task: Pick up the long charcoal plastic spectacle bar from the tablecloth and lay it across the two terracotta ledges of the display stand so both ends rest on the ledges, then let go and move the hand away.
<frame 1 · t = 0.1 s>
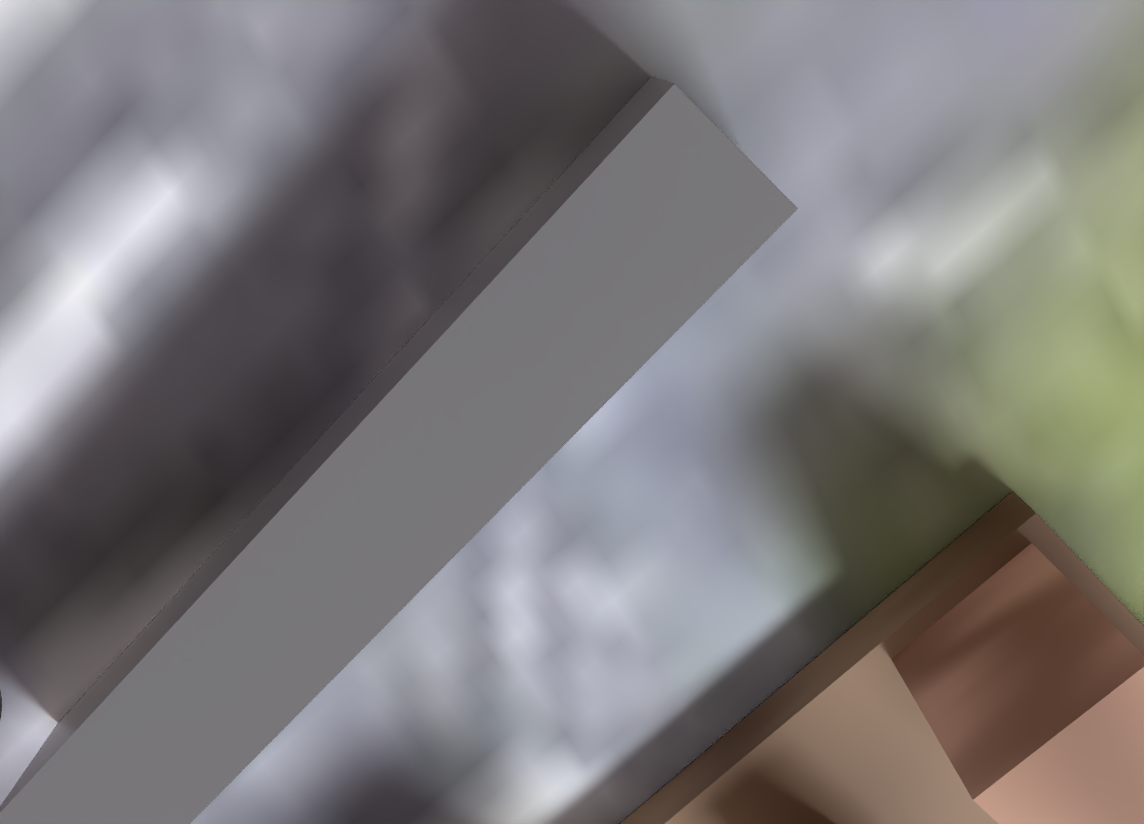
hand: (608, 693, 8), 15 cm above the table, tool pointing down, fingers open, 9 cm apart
spectacle bar: (383, 467, 24), on the table
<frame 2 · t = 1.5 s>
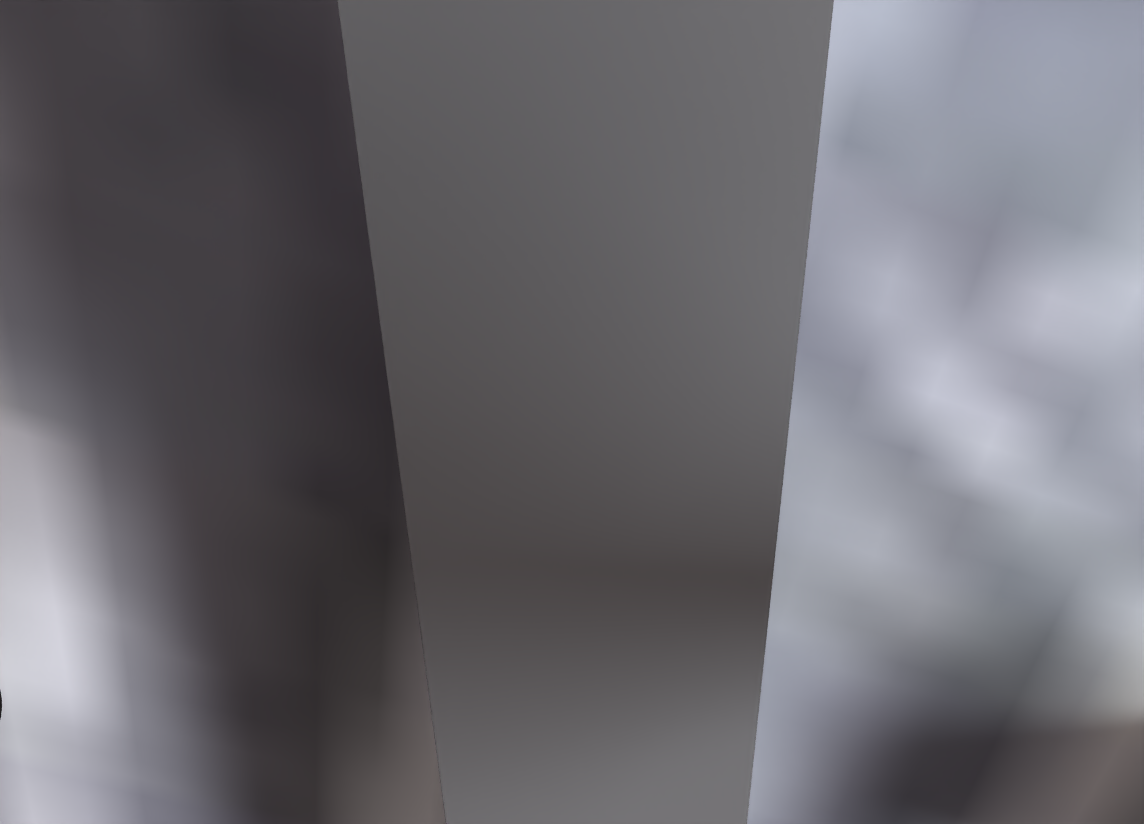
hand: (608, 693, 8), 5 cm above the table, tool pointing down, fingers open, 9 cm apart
spectacle bar: (582, 337, 12), on the table
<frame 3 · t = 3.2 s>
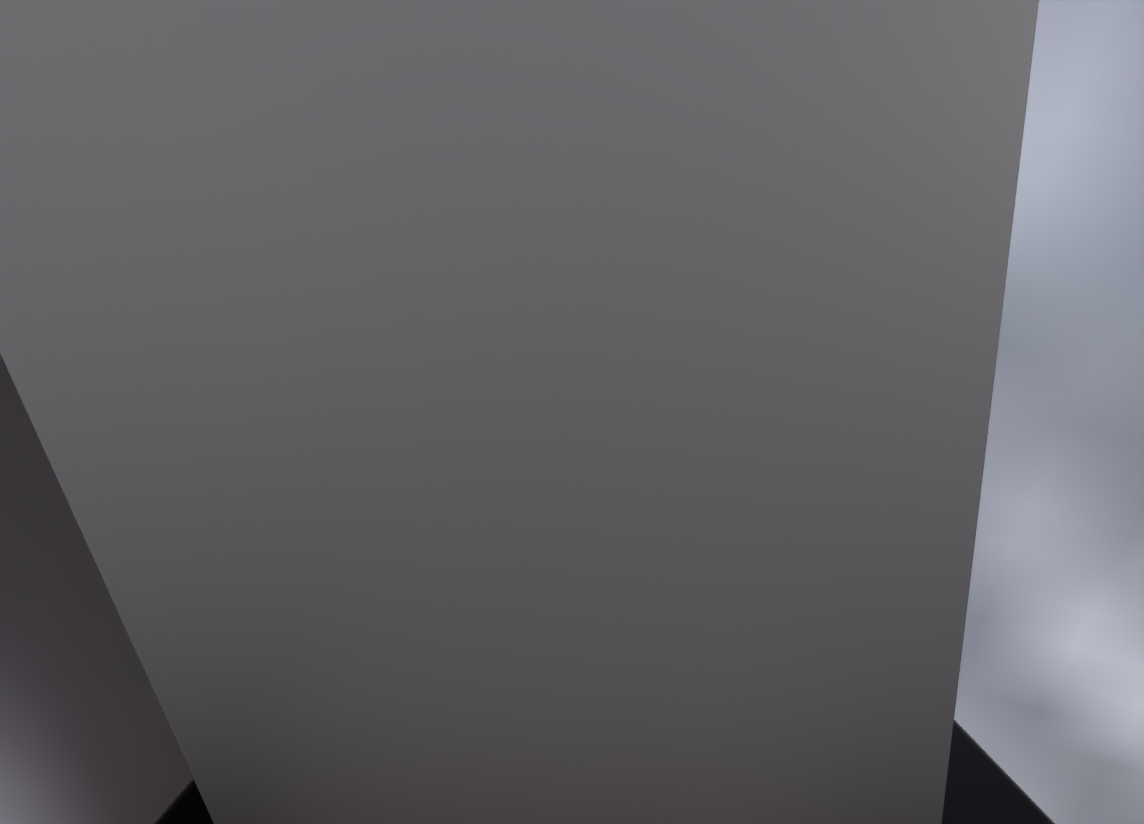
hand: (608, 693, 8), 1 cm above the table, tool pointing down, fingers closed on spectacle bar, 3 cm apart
spectacle bar: (598, 580, 9), on the table, touching gripper
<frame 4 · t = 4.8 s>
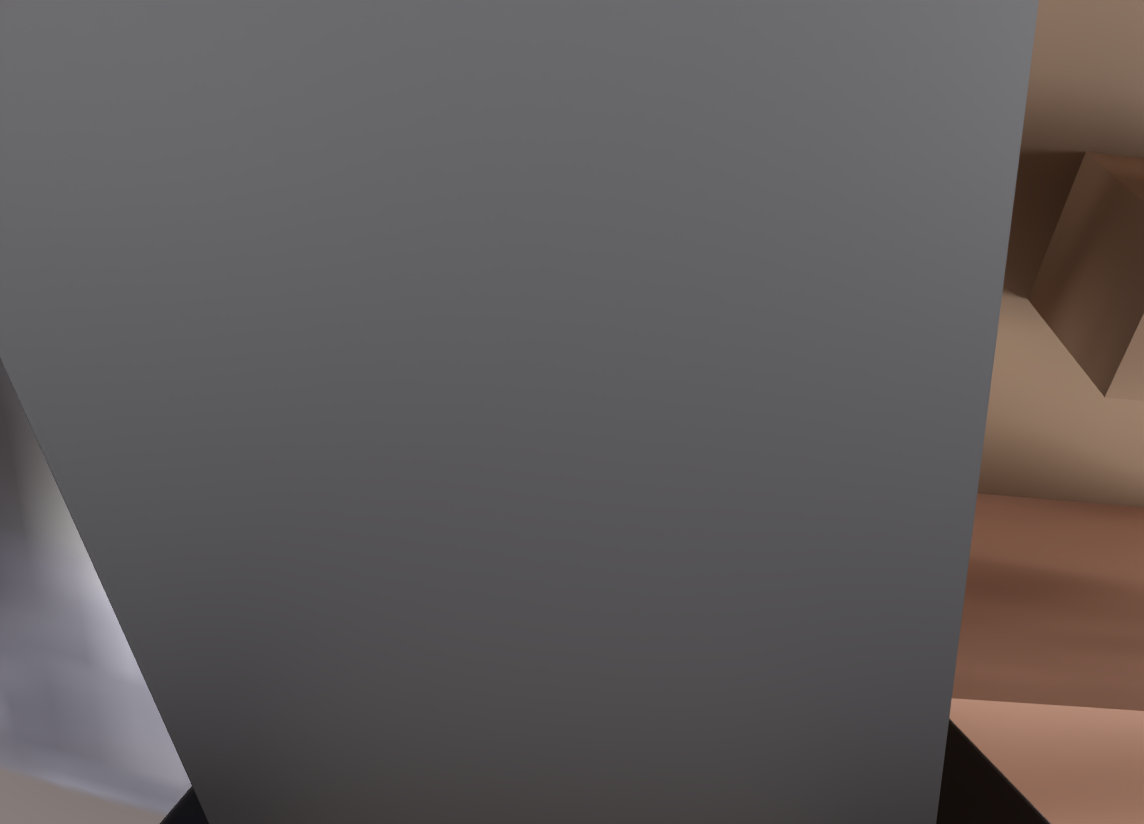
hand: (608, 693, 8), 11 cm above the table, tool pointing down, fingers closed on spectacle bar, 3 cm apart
spectacle bar: (594, 578, 9), point 9 cm above the table, touching gripper
display stand: (1115, 206, 17), on the table
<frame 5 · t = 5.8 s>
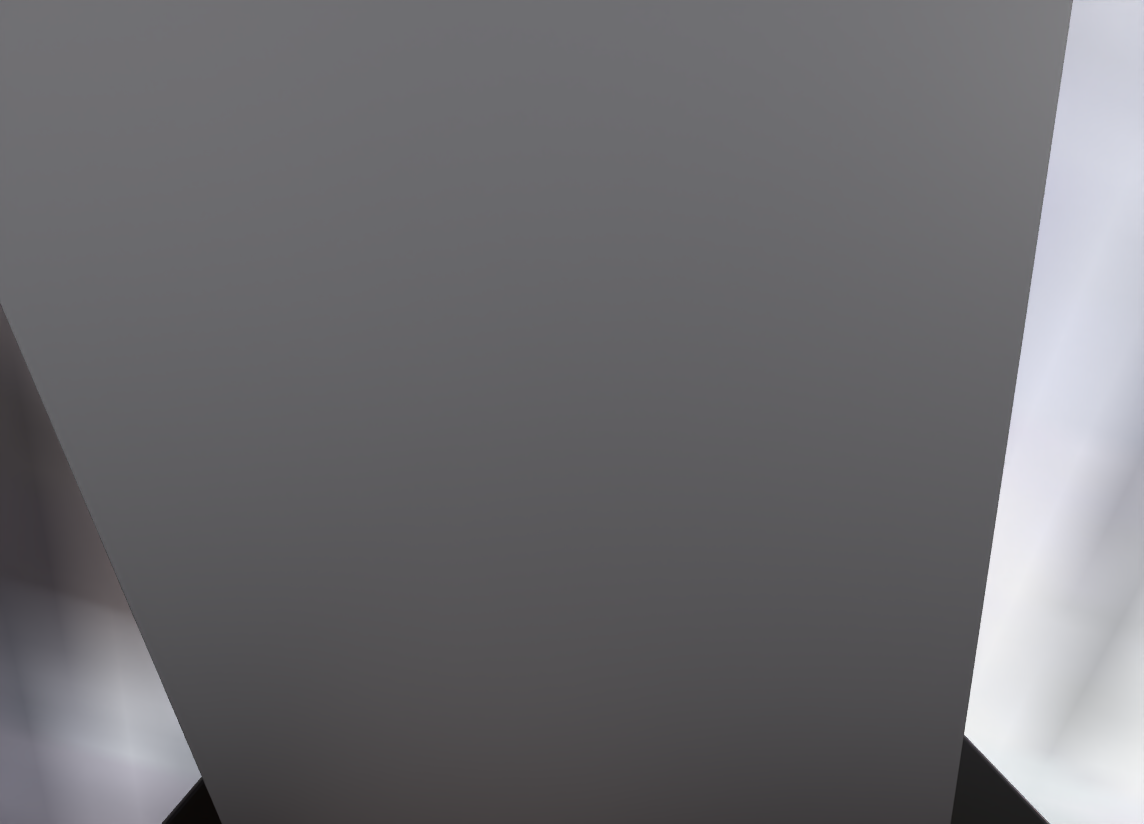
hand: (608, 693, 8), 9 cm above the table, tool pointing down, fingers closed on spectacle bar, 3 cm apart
spectacle bar: (598, 578, 9), point 7 cm above the table, touching gripper
when the fingers open (8 cm above the table, at t = 6.4 s): spectacle bar drops 1 cm, resting on display stand.
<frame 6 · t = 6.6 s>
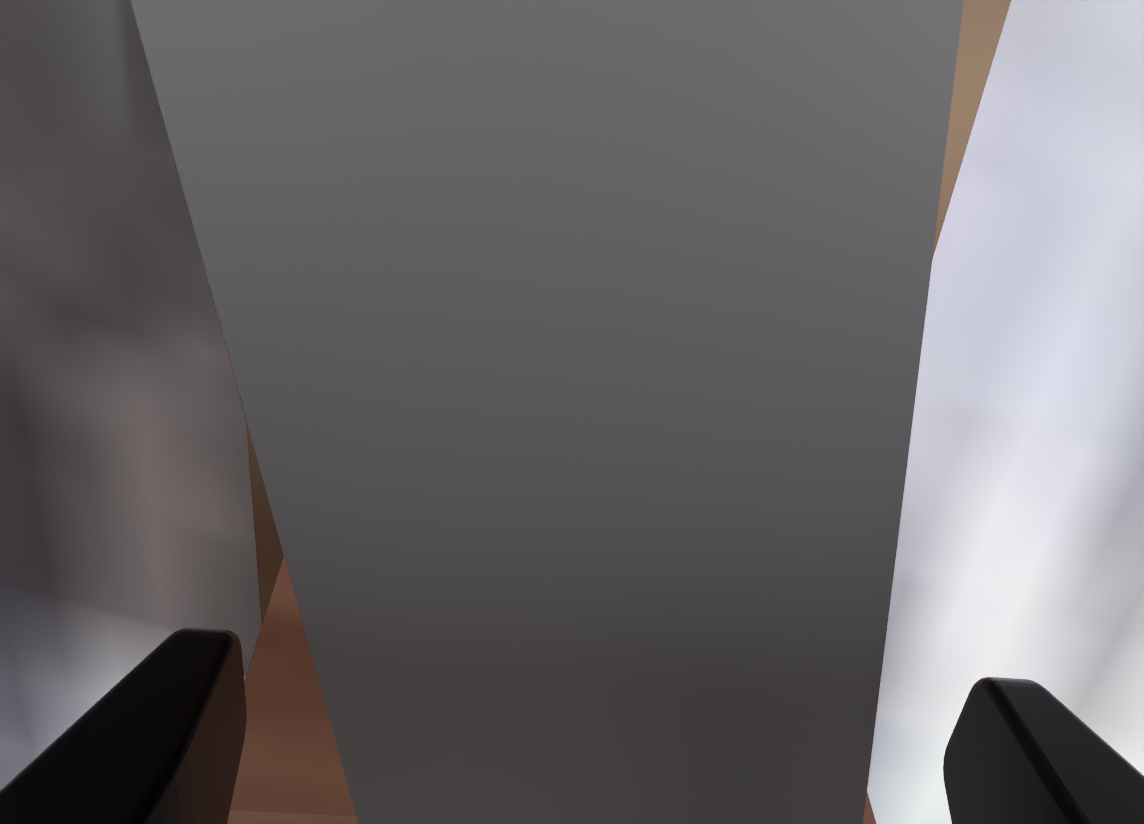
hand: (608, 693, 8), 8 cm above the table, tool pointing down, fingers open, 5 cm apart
spectacle bar: (595, 489, 10), point 6 cm above the table, touching display stand
display stand: (582, 227, 15), on the table
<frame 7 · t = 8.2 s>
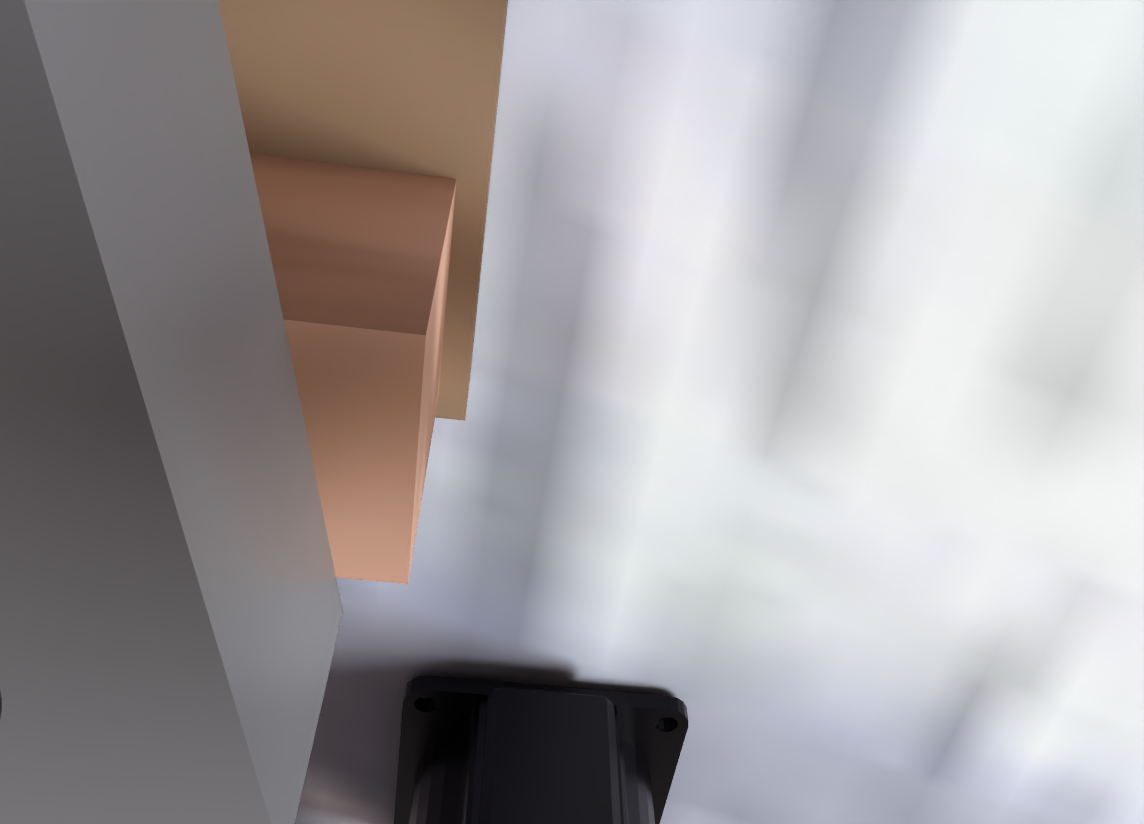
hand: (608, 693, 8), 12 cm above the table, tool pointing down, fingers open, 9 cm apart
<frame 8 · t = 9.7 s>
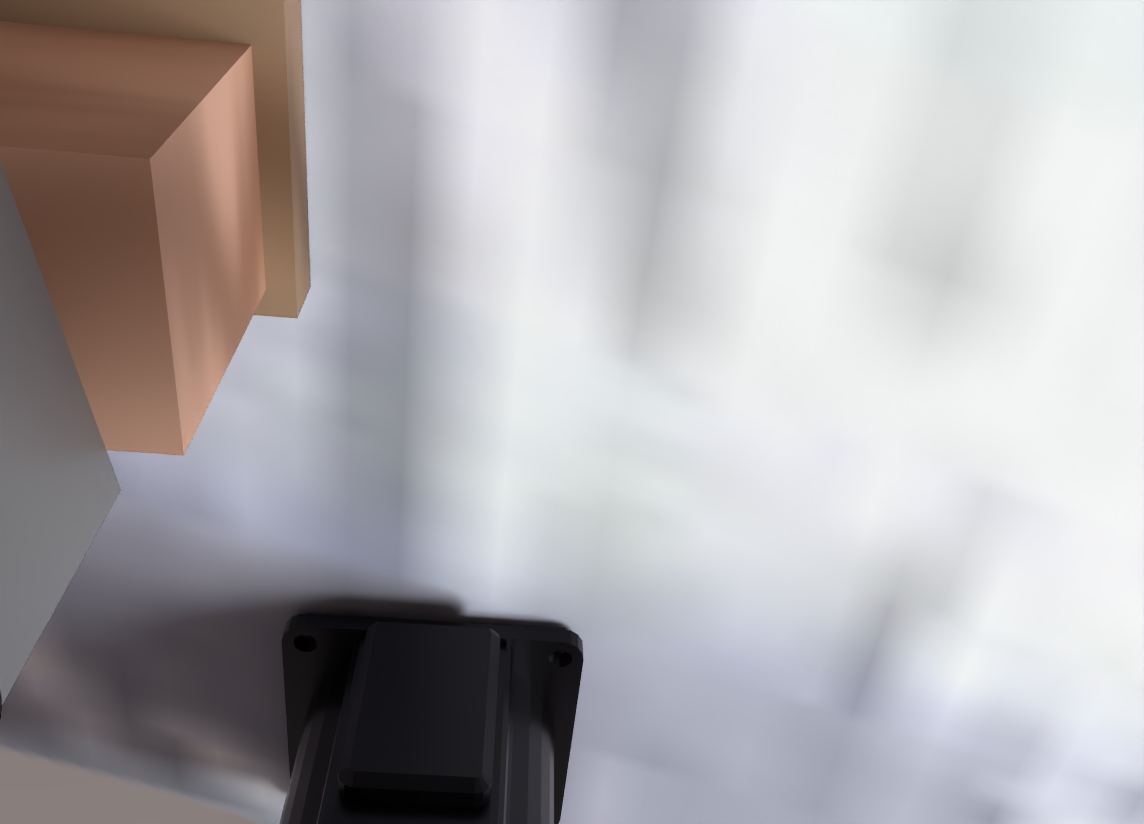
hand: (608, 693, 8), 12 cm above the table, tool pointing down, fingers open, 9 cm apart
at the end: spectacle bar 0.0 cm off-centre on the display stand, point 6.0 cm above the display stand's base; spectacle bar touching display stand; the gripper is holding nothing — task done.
